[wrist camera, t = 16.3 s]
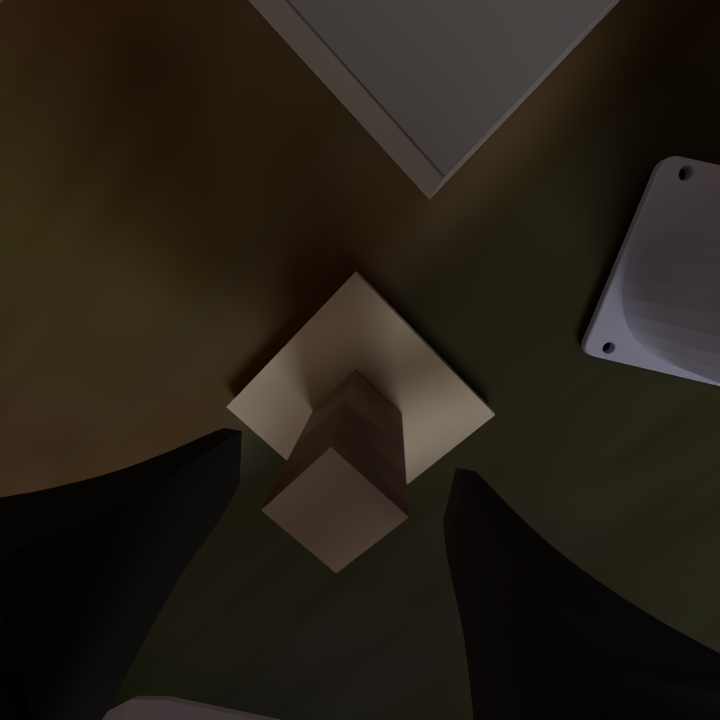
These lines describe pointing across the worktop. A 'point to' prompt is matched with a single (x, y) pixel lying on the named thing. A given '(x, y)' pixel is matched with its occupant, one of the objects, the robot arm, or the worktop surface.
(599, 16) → the switch box
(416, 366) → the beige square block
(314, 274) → the worktop surface
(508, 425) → the worktop surface
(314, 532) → the brown rectangular block
